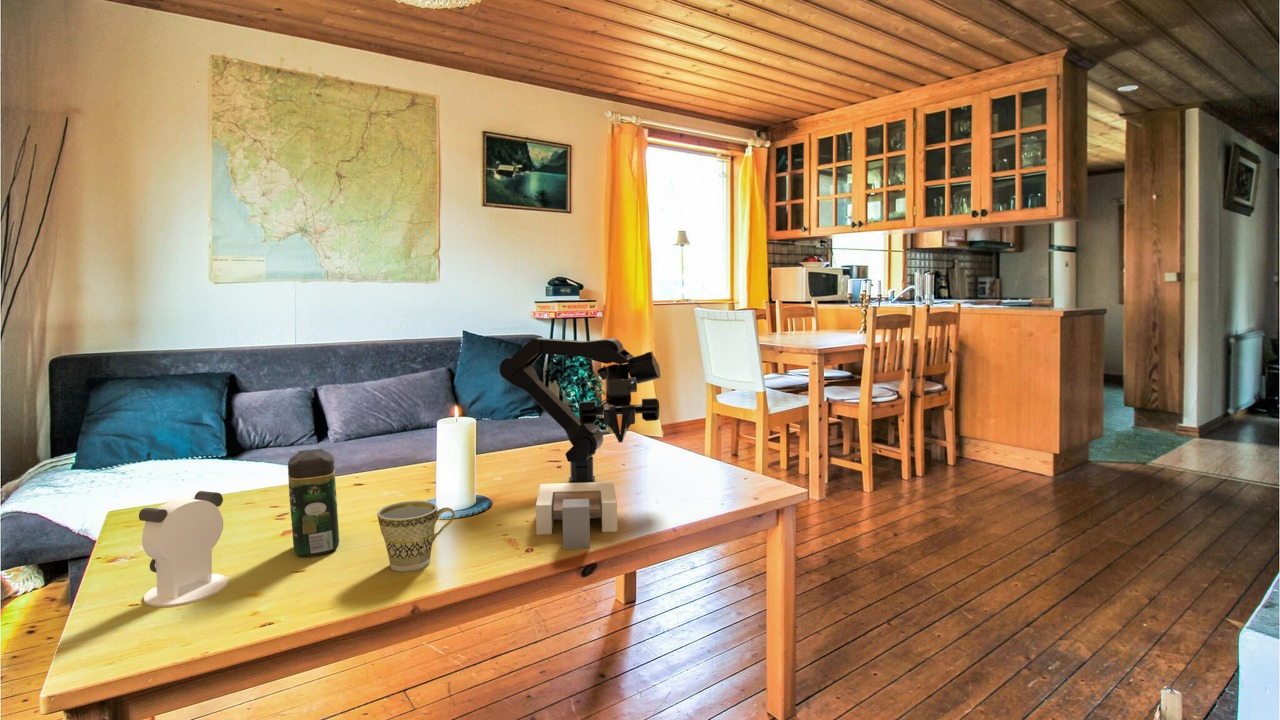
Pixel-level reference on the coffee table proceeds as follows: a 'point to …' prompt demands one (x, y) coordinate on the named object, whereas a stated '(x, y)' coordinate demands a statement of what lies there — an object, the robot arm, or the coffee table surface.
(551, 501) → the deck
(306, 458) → the coffee jar
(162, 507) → the panda figurine
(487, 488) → the coffee table surface
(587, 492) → the trapdoor
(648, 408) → the robot arm
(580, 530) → the stone
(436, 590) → the coffee table surface
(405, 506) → the ceramic cup
